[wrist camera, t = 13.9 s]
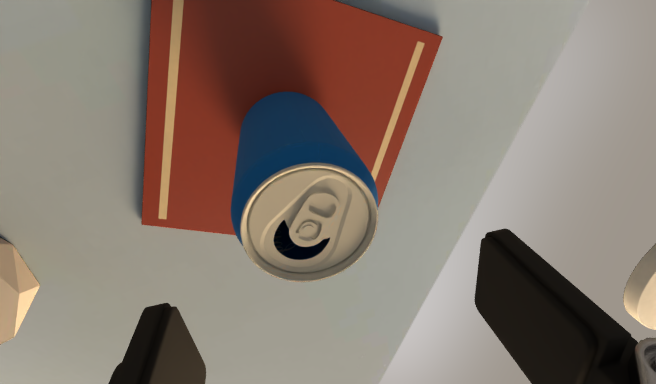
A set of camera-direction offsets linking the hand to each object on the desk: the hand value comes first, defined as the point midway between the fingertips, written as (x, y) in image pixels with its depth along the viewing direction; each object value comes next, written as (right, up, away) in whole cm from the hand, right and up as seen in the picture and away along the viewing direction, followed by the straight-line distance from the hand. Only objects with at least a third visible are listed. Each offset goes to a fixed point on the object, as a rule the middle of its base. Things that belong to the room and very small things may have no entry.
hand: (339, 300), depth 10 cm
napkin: (-4, +8, +14) cm, 16 cm away
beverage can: (-3, +7, +14) cm, 16 cm away
